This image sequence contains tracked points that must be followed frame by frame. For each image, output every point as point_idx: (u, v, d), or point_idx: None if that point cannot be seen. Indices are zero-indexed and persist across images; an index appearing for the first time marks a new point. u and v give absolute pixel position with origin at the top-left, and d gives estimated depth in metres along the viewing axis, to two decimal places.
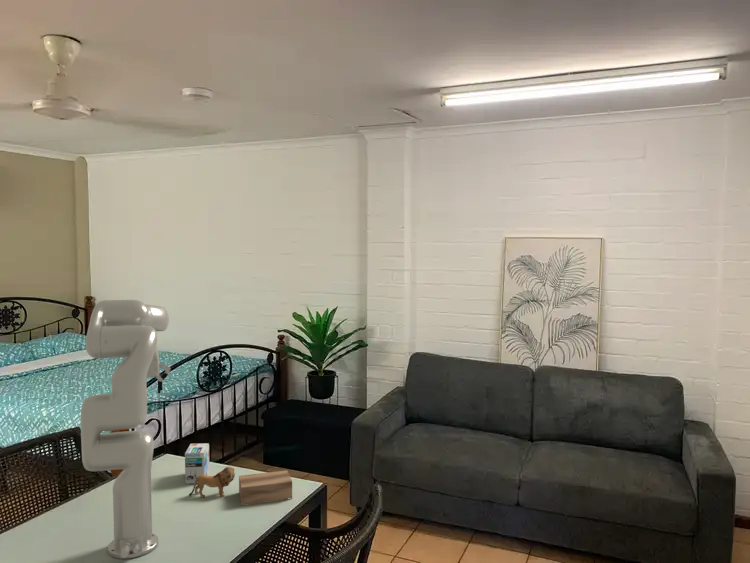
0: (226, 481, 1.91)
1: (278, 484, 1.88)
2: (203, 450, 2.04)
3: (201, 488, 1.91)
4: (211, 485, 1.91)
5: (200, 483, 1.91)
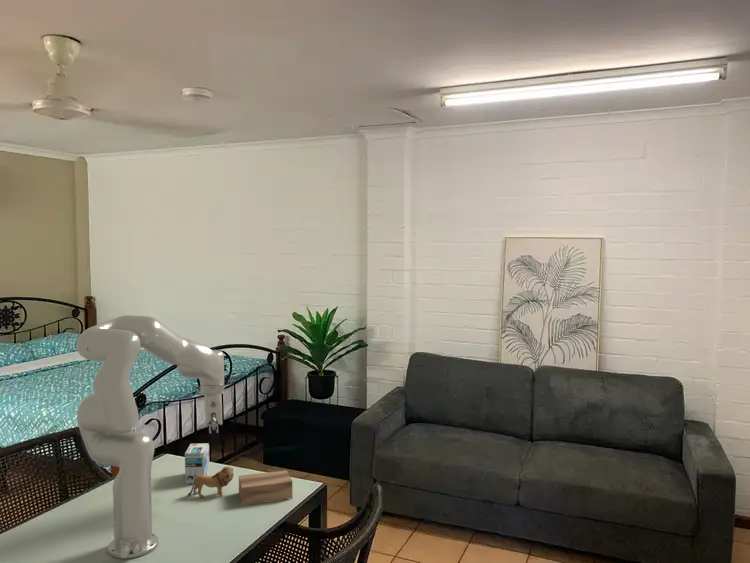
0: (224, 481, 1.91)
1: (278, 484, 1.88)
2: (203, 450, 2.04)
3: (200, 488, 1.91)
4: (210, 485, 1.91)
5: (199, 483, 1.91)
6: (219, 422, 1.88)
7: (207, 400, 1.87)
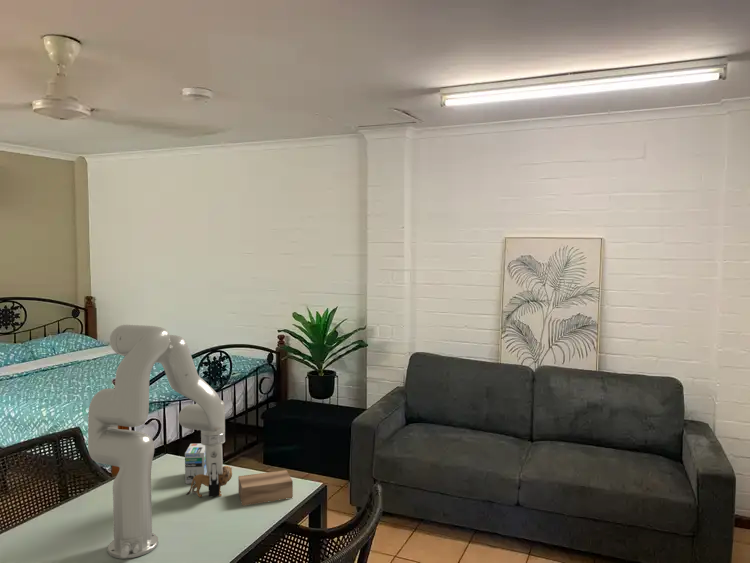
0: (223, 480, 1.91)
1: (279, 484, 1.88)
2: (203, 450, 2.04)
3: (198, 487, 1.91)
4: (208, 484, 1.91)
5: (197, 482, 1.91)
6: (219, 472, 1.88)
7: (208, 450, 1.88)
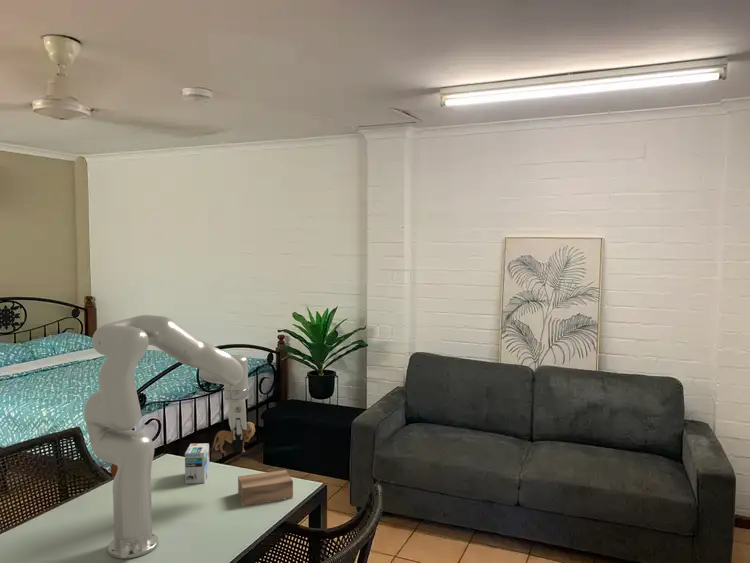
0: (247, 436, 1.90)
1: (279, 484, 1.88)
2: (203, 450, 2.04)
3: (222, 443, 1.90)
4: None
5: (221, 438, 1.90)
6: (244, 427, 1.87)
7: (232, 405, 1.86)
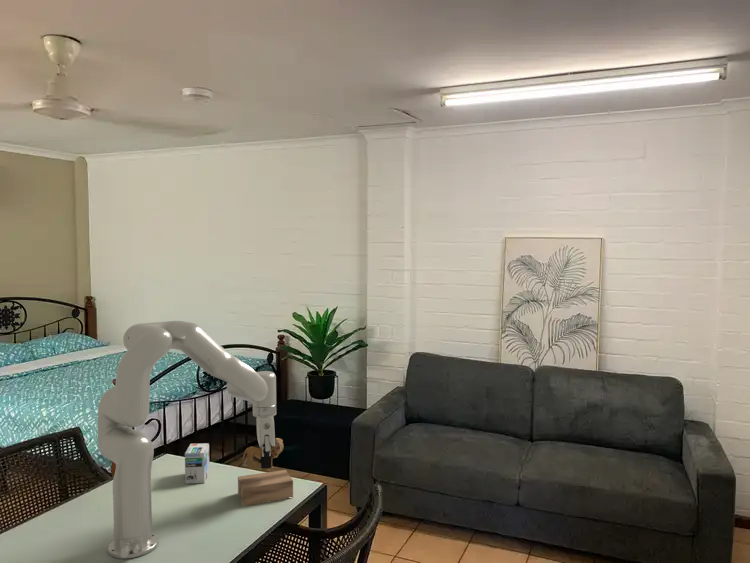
0: (275, 453, 1.90)
1: (279, 483, 1.89)
2: (203, 450, 2.04)
3: (250, 460, 1.90)
4: (260, 456, 1.90)
5: (249, 455, 1.89)
6: (272, 444, 1.87)
7: (260, 422, 1.86)
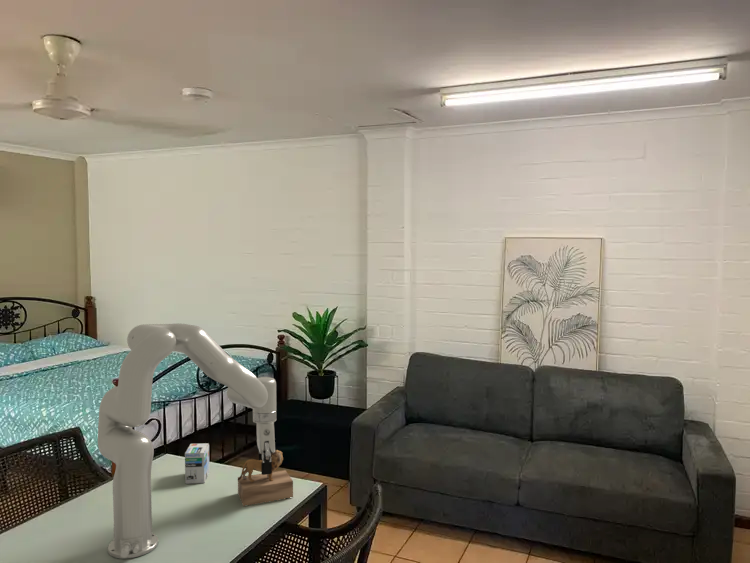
0: (275, 465, 1.90)
1: (279, 484, 1.88)
2: (203, 450, 2.04)
3: (250, 472, 1.89)
4: (260, 469, 1.90)
5: (249, 467, 1.89)
6: (272, 450, 1.87)
7: (260, 428, 1.86)
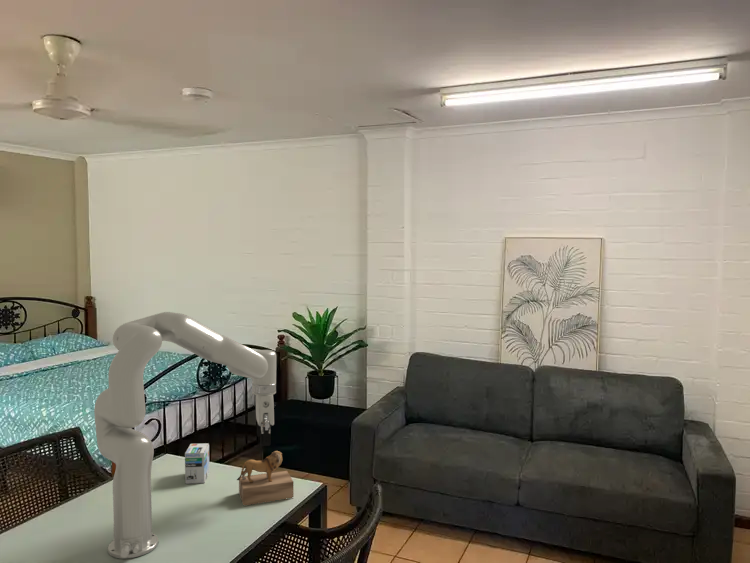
0: (274, 466, 1.90)
1: (279, 484, 1.88)
2: (203, 450, 2.04)
3: (249, 473, 1.89)
4: (259, 470, 1.90)
5: (248, 468, 1.89)
6: (271, 422, 1.86)
7: (260, 400, 1.86)
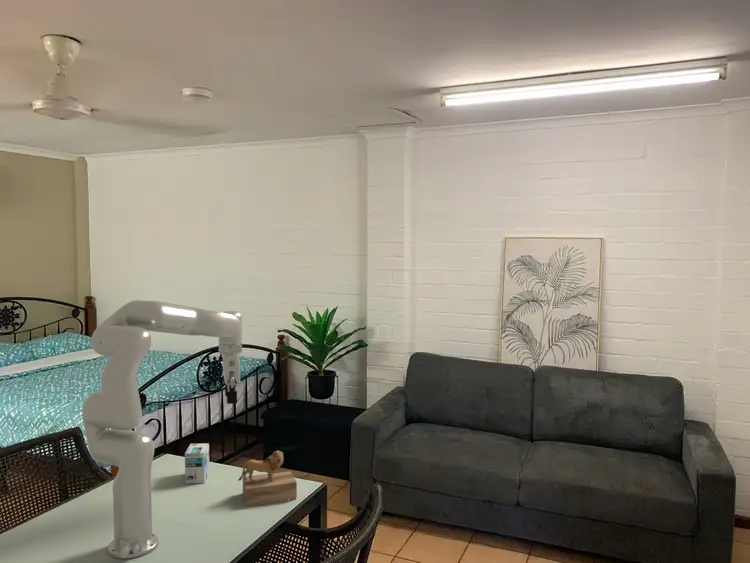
0: (276, 466, 1.90)
1: (282, 485, 1.88)
2: (203, 450, 2.04)
3: (251, 473, 1.89)
4: (261, 470, 1.89)
5: (250, 468, 1.89)
6: (237, 381, 1.91)
7: (225, 359, 1.91)
